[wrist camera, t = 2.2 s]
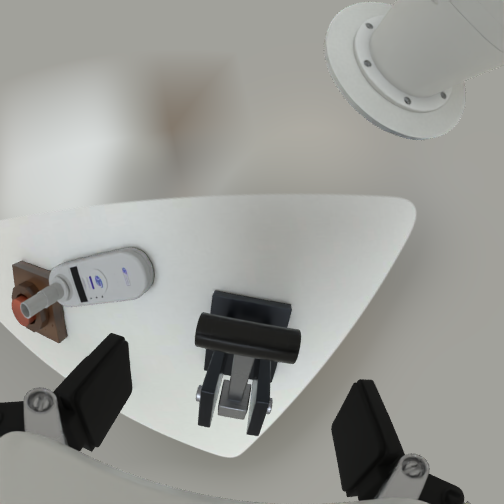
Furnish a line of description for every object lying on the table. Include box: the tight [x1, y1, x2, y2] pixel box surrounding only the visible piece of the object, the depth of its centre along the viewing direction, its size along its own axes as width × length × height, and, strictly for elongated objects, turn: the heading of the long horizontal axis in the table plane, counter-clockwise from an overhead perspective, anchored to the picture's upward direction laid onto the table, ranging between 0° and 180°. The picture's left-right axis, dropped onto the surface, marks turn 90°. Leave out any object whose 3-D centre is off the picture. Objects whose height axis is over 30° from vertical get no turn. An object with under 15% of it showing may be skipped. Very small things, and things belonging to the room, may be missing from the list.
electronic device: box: [20, 247, 154, 319], centre depth 24 cm, size 5×10×15 cm
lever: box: [195, 312, 301, 420], centre depth 17 cm, size 12×5×2 cm, turn 170°
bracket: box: [196, 291, 292, 436], centre depth 24 cm, size 10×8×12 cm
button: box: [12, 295, 36, 326], centre depth 27 cm, size 4×4×2 cm
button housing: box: [12, 261, 67, 343], centre depth 29 cm, size 10×9×4 cm
